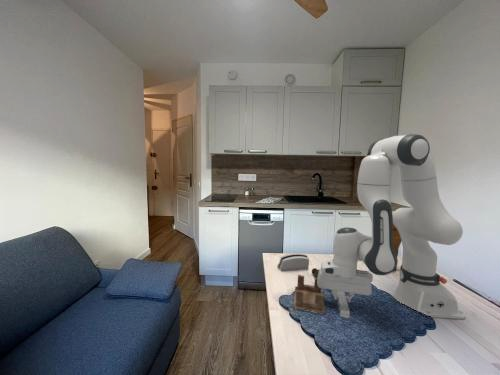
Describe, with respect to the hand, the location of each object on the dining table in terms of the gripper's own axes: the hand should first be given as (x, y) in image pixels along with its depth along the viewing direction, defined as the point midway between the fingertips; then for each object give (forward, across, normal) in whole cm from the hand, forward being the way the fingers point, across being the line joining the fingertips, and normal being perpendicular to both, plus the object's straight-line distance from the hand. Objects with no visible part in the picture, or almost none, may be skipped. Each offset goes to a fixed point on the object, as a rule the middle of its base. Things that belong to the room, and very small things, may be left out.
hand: (342, 300), depth 89 cm
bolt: (+2, +6, -17) cm, 18 cm away
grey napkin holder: (+2, +21, -26) cm, 33 cm away
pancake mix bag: (+2, -27, -39) cm, 47 cm away
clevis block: (+2, +13, +1) cm, 13 cm away
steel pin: (+2, 0, 0) cm, 2 cm away
